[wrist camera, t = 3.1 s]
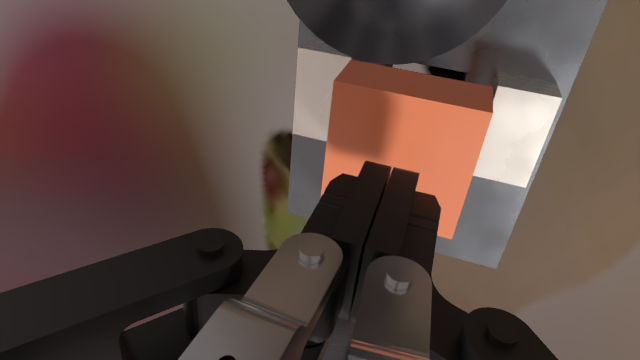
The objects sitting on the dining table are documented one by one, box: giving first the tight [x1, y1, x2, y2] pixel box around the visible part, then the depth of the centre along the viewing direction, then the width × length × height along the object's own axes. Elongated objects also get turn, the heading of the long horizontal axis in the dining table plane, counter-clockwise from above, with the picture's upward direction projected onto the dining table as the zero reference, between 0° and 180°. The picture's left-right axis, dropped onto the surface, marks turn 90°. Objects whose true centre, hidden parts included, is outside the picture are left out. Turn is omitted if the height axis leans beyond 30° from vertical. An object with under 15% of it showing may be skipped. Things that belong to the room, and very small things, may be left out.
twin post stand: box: [287, 0, 608, 360], centre depth 14 cm, size 16×10×15 cm, turn 175°
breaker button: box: [321, 60, 493, 239], centre depth 16 cm, size 4×4×4 cm
